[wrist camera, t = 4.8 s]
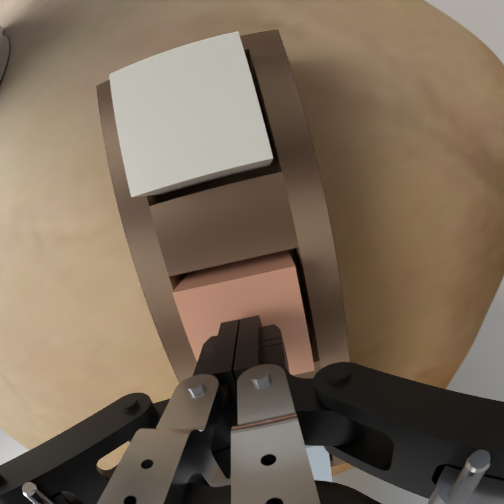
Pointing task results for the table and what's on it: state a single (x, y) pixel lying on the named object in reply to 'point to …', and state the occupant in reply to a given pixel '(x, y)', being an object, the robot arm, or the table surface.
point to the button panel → (239, 218)
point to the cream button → (188, 116)
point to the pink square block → (247, 303)
